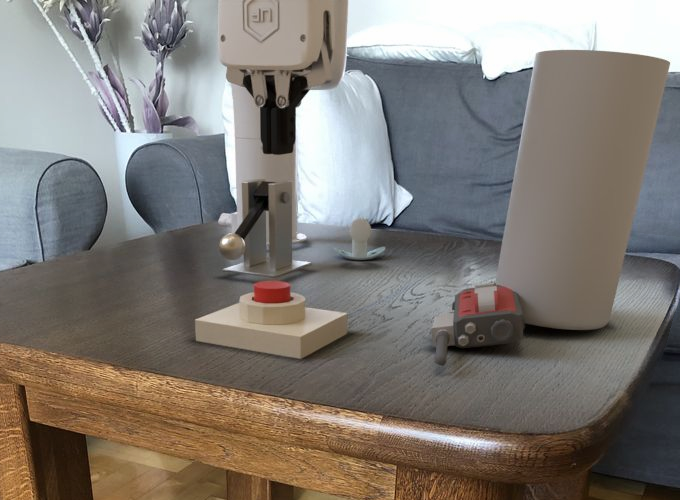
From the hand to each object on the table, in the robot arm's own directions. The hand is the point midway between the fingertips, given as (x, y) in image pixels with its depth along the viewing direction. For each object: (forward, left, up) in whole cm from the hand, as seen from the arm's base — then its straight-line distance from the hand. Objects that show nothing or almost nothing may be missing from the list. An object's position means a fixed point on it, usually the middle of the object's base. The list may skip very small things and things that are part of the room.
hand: (278, 153), depth 79 cm
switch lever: (-15, +19, -11) cm, 26 cm away
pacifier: (-7, +34, -17) cm, 39 cm away
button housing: (+1, -4, -17) cm, 18 cm away
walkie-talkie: (+21, +4, -17) cm, 27 cm away
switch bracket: (-15, +22, -17) cm, 32 cm away
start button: (+1, -4, -14) cm, 14 cm away
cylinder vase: (+24, +16, -17) cm, 34 cm away
